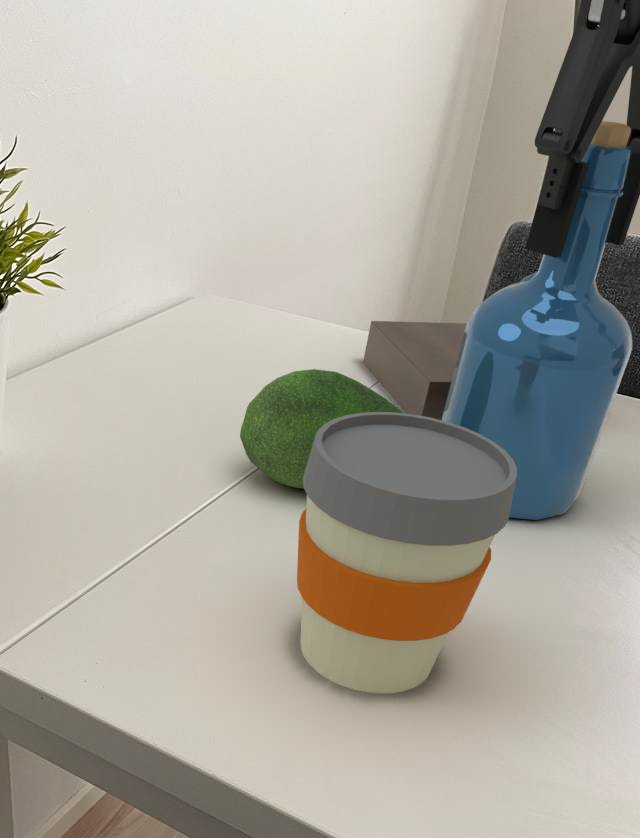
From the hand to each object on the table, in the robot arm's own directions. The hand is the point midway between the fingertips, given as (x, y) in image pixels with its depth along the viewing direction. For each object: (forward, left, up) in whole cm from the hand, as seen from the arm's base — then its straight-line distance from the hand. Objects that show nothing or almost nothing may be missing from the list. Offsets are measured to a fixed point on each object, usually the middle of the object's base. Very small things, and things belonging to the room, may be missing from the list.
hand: (575, 246), depth 78 cm
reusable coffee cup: (+21, +24, -22) cm, 38 cm away
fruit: (+17, -1, -22) cm, 27 cm away
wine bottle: (0, 0, -22) cm, 22 cm away
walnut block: (-6, -22, -21) cm, 31 cm away
